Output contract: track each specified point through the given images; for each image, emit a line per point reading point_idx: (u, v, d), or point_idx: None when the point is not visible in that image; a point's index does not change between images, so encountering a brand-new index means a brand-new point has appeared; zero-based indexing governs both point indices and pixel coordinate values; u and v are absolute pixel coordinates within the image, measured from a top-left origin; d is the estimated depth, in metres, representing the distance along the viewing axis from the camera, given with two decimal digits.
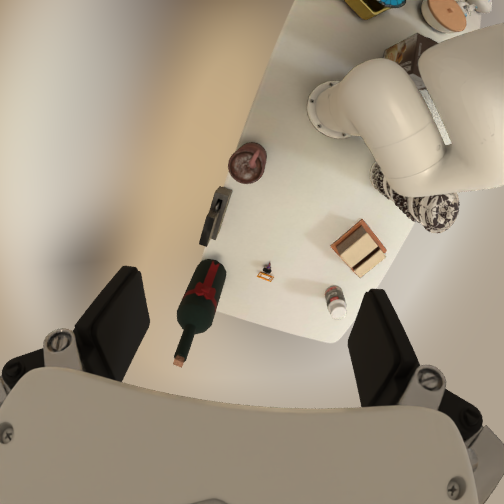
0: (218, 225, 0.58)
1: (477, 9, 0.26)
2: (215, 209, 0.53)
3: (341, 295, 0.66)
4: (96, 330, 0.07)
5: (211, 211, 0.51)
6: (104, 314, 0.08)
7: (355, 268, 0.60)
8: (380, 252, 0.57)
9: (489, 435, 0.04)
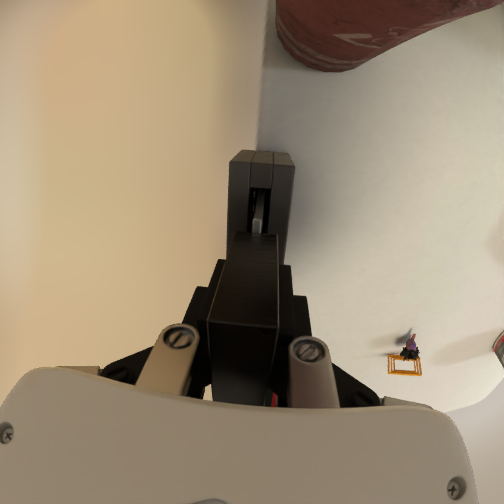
0: None
1: None
2: (254, 238, 0.10)
3: None
4: None
5: (236, 260, 0.08)
6: None
7: None
8: None
9: (394, 402, 0.06)
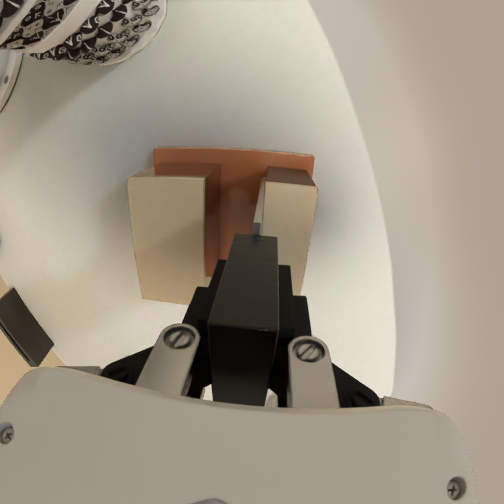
0: (21, 348, 0.25)
1: None
2: (254, 241, 0.10)
3: None
4: None
5: (236, 262, 0.08)
6: None
7: None
8: (276, 192, 0.13)
9: (394, 402, 0.06)
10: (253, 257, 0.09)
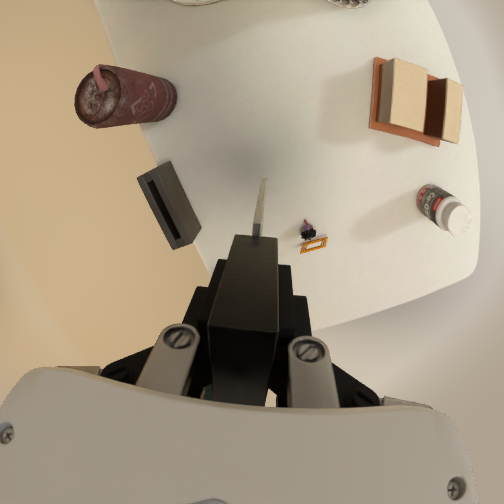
0: (178, 219, 0.33)
1: None
2: (254, 242, 0.10)
3: (442, 191, 0.29)
4: None
5: (236, 264, 0.08)
6: None
7: (440, 133, 0.25)
8: (450, 82, 0.21)
9: (394, 402, 0.06)
10: (253, 258, 0.09)
